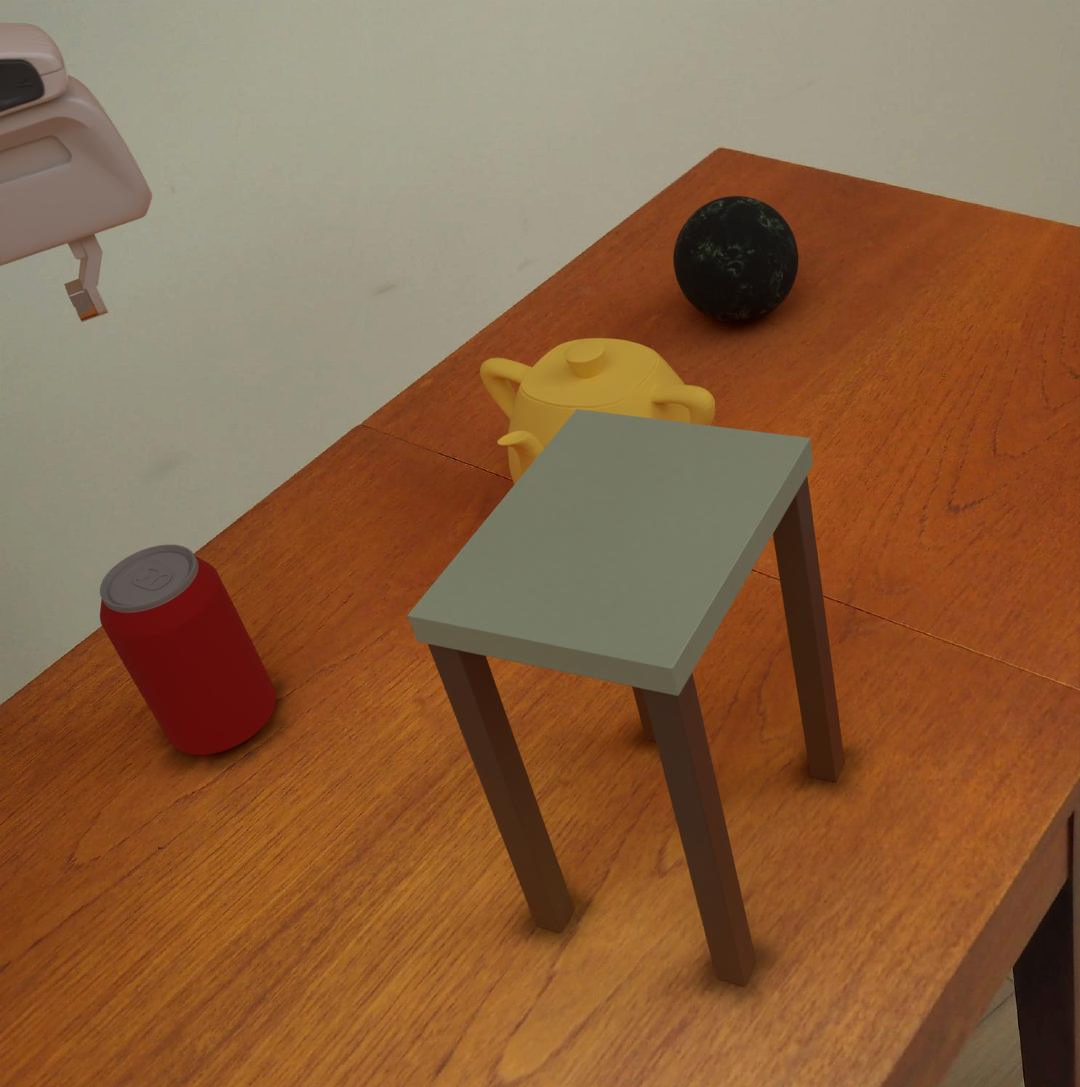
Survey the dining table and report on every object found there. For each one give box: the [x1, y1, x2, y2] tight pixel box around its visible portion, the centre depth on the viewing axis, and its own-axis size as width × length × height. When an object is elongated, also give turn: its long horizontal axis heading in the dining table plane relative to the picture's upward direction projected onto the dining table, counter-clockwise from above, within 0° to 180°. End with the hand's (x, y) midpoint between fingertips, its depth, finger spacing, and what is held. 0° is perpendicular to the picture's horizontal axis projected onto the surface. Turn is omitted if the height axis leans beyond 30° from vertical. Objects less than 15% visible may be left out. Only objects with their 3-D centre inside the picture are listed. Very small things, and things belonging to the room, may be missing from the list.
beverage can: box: [99, 544, 277, 756], centre depth 80 cm, size 7×7×12 cm
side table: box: [407, 409, 846, 988], centre depth 65 cm, size 15×12×22 cm
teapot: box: [479, 337, 716, 486], centre depth 93 cm, size 14×14×12 cm
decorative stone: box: [672, 195, 799, 325], centre depth 110 cm, size 10×10×10 cm
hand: (6, 345), depth 74 cm, fingers open, 8 cm apart
